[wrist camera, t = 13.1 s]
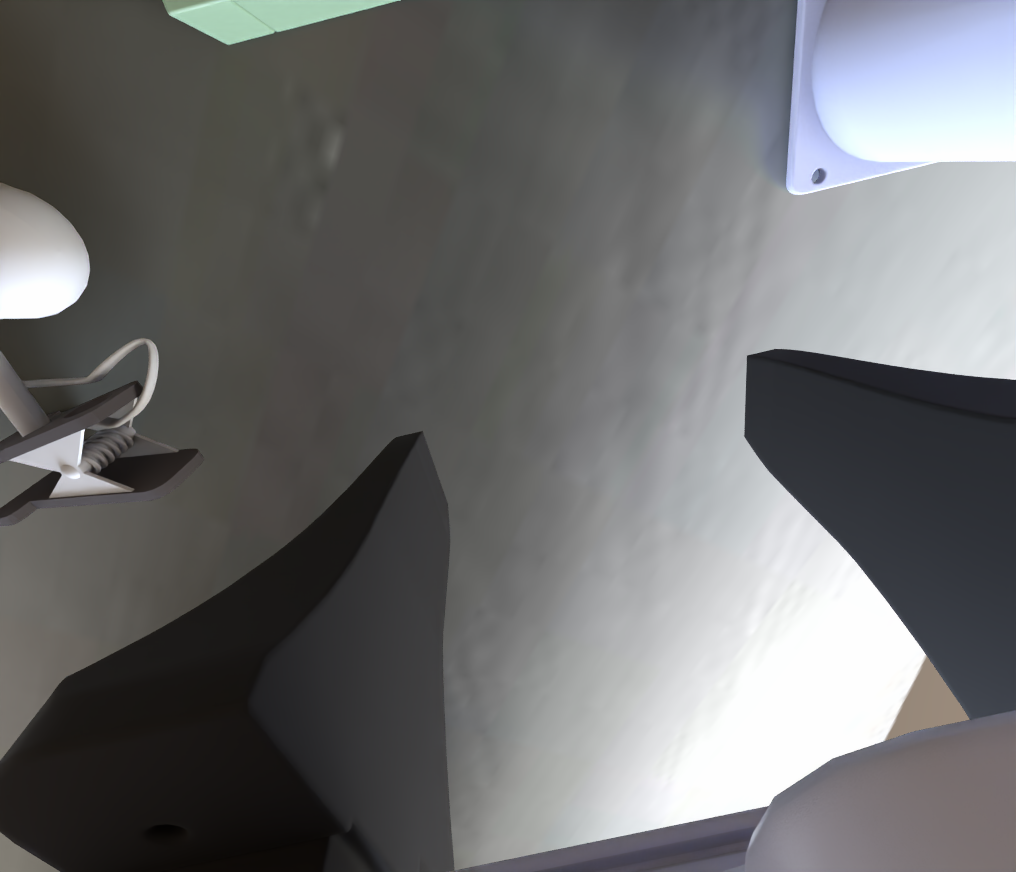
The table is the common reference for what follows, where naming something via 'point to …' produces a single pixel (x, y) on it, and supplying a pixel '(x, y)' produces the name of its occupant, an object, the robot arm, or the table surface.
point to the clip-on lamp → (71, 381)
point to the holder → (259, 15)
